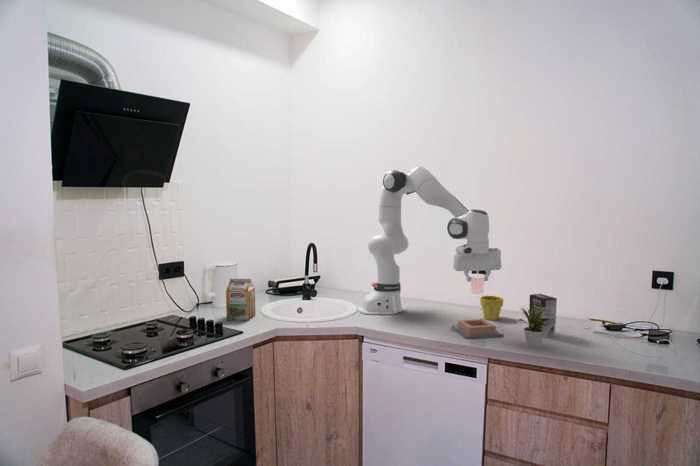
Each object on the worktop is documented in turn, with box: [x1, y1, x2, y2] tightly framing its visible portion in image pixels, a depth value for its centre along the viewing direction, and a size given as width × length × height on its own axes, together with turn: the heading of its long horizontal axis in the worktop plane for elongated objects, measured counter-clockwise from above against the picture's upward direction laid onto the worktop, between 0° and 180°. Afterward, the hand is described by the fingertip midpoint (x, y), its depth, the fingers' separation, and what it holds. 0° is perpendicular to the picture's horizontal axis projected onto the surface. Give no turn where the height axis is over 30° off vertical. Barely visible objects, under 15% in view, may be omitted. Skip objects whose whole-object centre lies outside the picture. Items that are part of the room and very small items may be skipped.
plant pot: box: [479, 295, 504, 321], centre depth 217 cm, size 10×10×10 cm
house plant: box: [517, 304, 552, 348], centre depth 177 cm, size 14×14×16 cm
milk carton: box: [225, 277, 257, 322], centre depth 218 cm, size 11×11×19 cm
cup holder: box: [450, 318, 504, 340], centre depth 195 cm, size 16×16×4 cm
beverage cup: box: [469, 271, 486, 298], centre depth 193 cm, size 6×6×14 cm
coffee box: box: [528, 293, 558, 338], centre depth 192 cm, size 9×6×16 cm
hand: (477, 281), depth 193 cm, fingers closed on beverage cup, 6 cm apart
